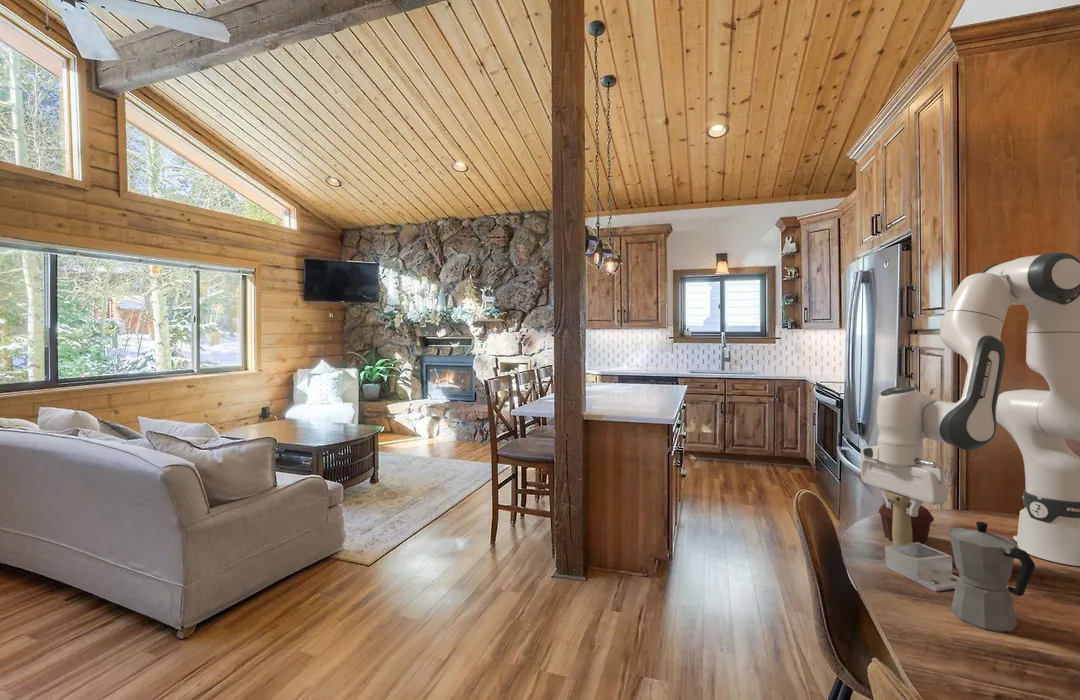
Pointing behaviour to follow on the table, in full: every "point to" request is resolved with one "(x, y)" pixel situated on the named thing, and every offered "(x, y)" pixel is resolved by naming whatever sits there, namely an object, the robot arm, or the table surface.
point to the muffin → (918, 523)
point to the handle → (900, 518)
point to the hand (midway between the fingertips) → (901, 511)
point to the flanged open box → (921, 565)
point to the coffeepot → (987, 577)
